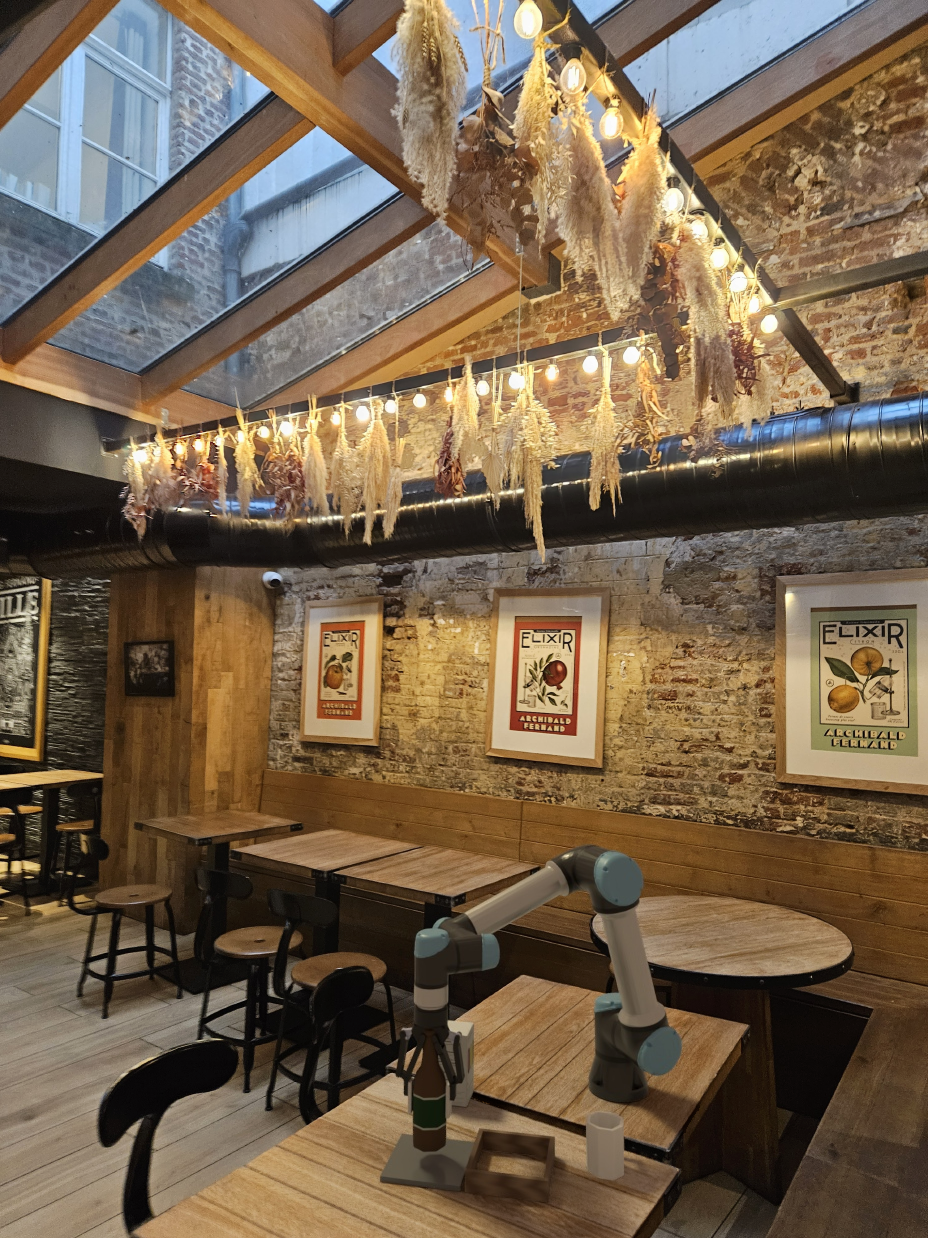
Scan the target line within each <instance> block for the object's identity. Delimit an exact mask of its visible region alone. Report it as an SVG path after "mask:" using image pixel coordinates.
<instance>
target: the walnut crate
mask: <svg viewBox="0 0 928 1238" xmlns="http://www.w3.org/2000/svg"><path fill="white" fill-rule="evenodd" d="M473 1142H474V1145H473V1148H472V1151H471V1154H470V1157H469V1160H468V1163H467V1166H466V1169H465V1178H464V1193H468V1194H477V1195H484V1196H485V1195H487V1196H495V1197H503V1198H510V1199H517V1200H526V1201H535V1202H540V1203H541V1202H543V1203H549V1200H550V1199H549V1198H550V1192H551V1186H552V1185H551V1184H552V1178H553V1171H554V1165H555V1158H556V1136H555V1135H554V1136H553V1135H544V1134H542V1135H541V1134H535V1133H523V1132H515V1131H510V1130H509V1131H508V1130H507V1131H506V1130H499V1129H498V1130H497V1129H488V1128H481V1127H480V1128H478V1131H477V1134H476V1136H475V1139H474V1141H473ZM483 1151H489V1152H498V1153H506V1154H513V1155H514V1154H515V1155H520V1156H521V1155H523V1156H532V1157H538V1158H539V1157H540V1158H541V1157H542V1158H546V1159H545V1160H546V1161H545V1167H544V1173H543V1177H542V1176H541V1177H539V1176H532V1175H524V1174H516V1173H508V1172H507V1173H506V1172H499V1171H492V1170H490V1171H489V1170H481V1169H478V1167H479V1163H480V1160H481V1157H482V1153H483Z"/></svg>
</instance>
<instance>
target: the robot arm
mask: <svg viewBox="0 0 928 1238" xmlns="http://www.w3.org/2000/svg"><path fill="white" fill-rule="evenodd" d="M643 889H644V877H643V871H642V870H641V868H640V866H639V864H638V863H637V862H636V861H635V860H634V859H633V858H632V857H630V856H628V855H627V854H625V853H623V852H620V851H617V850H611V849H608V848H605V847H602V846H599V845H596V844H591V843H590V844H582V845H579V846H575V847H573V848H571V849H568V850H566V851H564V852H562V853H560V854H558V855H556V856H555V857H553V858H551V859H549V860H548V861H546V863H545V866H544V867H543V868H542V869H539V870H538V871H536V872H534V873H533V874H531V875H529V876H527V877H525V878H524V879H522V880H520V881H518V882H516V883H515V884H513V885H511V886H510V887H508V888H506V889H504V890H502V891H500V892H498V893H497V894H495V895H494V896H491V897H489V898H488V899H486V900H485V901H482V902H480V903H479V904H478V905H476V906H473V907H472V908H470V909H469V910H467V911H464V912H462V913H461V914H459V915H457V916H455V917H454V918H452V917H448V916H446V917H442V918H439V919H438V920H436V922H435V923H434V924H433V926H432V928H425V929H422V930H420V931H418V932H417V933H416V935H415V940H414V951H413V956H414V984H413V986H414V987H413V1002H414V1005H413V1025H412V1027H408V1028H407V1026H403V1027H402V1028H401V1030H400V1031H399V1041H400V1044H399V1049H398V1051H399V1052H398V1057H397V1062H396V1063H397V1064H396V1069H395V1077H396V1078H397V1079H398V1078H400V1079H402V1080H403V1095H404V1097H407V1115H412V1114H413V1085H414V1077H415V1076H412V1074H413V1071H414V1069H415V1067H416V1064H417V1062H418V1060H419V1057H420V1054H421V1052H422V1051H423V1045H424V1041H425V1039H426V1035H425V1034H424V1033H423V1031H424V1030H426V1029H428V1030H434V1031H435V1035H433V1036H432V1041H433V1044H434V1046H435V1050H436V1051H437V1054H438V1055H439V1057H440V1060H441V1062H442V1065H443V1068H444V1071H445V1073H446V1076H447V1079H448V1083H447V1085H446V1118H447V1119H449V1118H450V1116H451V1114H452V1110H453V1107H452V1106H453V1105H452V1101H454V1100H455V1098H456V1084H462V1082H463V1080H464V1078H465V1072H464V1065H463V1058H462V1051H461V1044H460V1042H461V1037H462V1033H461V1032H457V1033H455V1032H452V1031H450V1029H449V1027H448V1020H449V1011H448V1010H449V1005H448V1003H449V975H454V974H463V973H471V972H480V971H482V972H484V971H486V970H491V969H494V968H496V967H497V966H498V964H499V962H500V955H501V953H500V944H499V942H498V939H497V937H496V936H495V935H494V933H496V932H497V931H499V930H501V929H504V927H506V926H508V925H510V924H511V923H512V922H516V921H517V920H518V919H520V918H522V917H524V916H525V915H527V914H529V913H531V912H532V911H534V910H535V909H537V908H539V907H541V906H543V905H544V904H546V903H548V902H550V901H551V900H553V899H555V898H557V897H558V896H563V897H567V896H569V895H571V894H572V893H575V892H579V891H581V892H582V891H584V892H585V893H588V894H589V897H590V902H591V905H592V910H593V912H594V913H595V914H596V915H598V916H600V918H601V921H602V926H603V930H604V935H605V939H606V943H607V947H608V952H609V955H610V960H611V963H612V964H611V965H612V969H613V973H614V978H615V980H616V985H617V986H616V987H617V989H618V992H610V993H609V992H608V993H603V994H600V995H599V996H597V997H596V998H595V1000H594V1010H593V1013H594V1015H593V1016H594V1057H593V1060H592V1063H591V1068H590V1070H589V1073H588V1077H587V1078H588V1081H587V1082H588V1089H589V1090H590V1093H592V1094H593V1095H595V1096H596V1097H598V1098H600V1099H603V1100H606V1101H610V1102H615V1103H632V1102H637V1101H641V1100H642V1099H644V1098H645V1097H647V1095H648V1093H649V1089H648V1088H649V1087H648V1085H649V1084H648V1080H647V1079H648V1078H647V1075H646V1073H648V1074H650V1075H652V1076H656V1077H659V1076H664V1075H666V1074H668V1073H670V1072H671V1071H672V1070H673V1069H674V1068H675V1067H676V1065H677V1064H678V1061H679V1059H680V1058H681V1055H682V1052H683V1051H682V1050H683V1049H682V1048H683V1044H682V1038H681V1036H680V1035H679V1033H678V1031H677V1030H676V1028H673V1027H672V1026H670V1024H669V1020H668V1016H667V1011H666V1009H665V1006H664V1005H663V1004H662V1003H660V1002H659V1001H658V1000H657V996H656V993H655V987H654V984H653V979H652V974H651V970H650V966H649V962H648V957H647V952H646V950H645V945H644V944H645V943H644V941H643V936H642V932H641V928H640V923H639V919H638V916H637V911H636V910H637V908H638V907H639V905H640V902H641V901H640V897H641V894H642V892H641V891H642V890H643ZM412 1036H413V1038H414V1039H415V1041H416V1042H417V1044H416V1045H415V1048H414V1051H413V1054H412V1055H411V1058H410V1061H409V1062H408V1066H407V1068H406V1069H405V1063H406V1058H407V1057H406V1056H407V1054H408V1053H407V1050H408V1046H409V1041H410V1038H411V1037H412ZM448 1037H449V1038H450V1039H451V1043H452V1044H453V1052H454V1060H455V1067H456V1074H457V1075H456V1074H455V1071H454V1069H453V1066H452V1063H451V1060H450V1058H449V1055H448V1052H447V1049H446V1045H445V1041H446V1039H447V1038H448Z"/></svg>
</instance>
